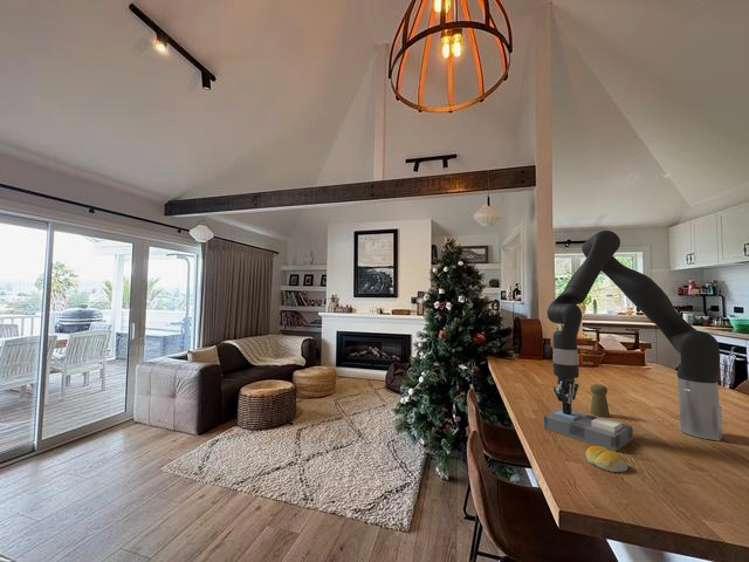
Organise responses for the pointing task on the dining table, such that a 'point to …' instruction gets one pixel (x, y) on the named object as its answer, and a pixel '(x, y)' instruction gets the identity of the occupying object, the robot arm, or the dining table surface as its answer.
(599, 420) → the ivory key
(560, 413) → the slate-blue key
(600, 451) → the bread roll
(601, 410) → the cork
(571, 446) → the dining table surface
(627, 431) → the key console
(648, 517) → the dining table surface
